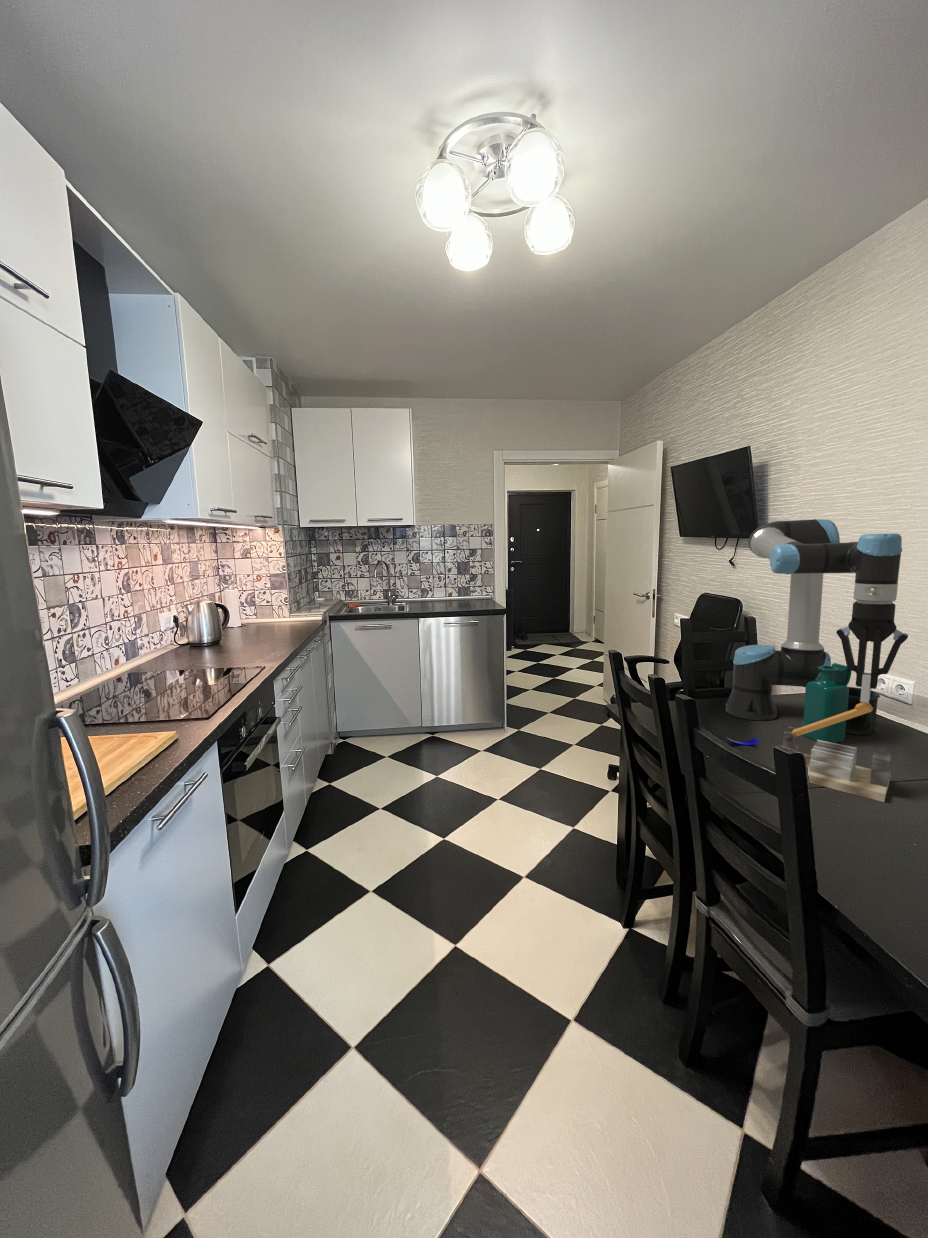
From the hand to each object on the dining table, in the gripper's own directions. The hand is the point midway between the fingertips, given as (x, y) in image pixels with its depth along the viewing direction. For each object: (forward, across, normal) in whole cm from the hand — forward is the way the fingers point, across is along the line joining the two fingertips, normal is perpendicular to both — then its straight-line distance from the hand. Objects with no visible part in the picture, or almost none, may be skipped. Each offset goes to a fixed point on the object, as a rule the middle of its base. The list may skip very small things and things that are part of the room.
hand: (864, 700), depth 115 cm
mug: (+21, -6, +43) cm, 48 cm away
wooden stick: (+7, -6, 0) cm, 9 cm away
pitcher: (+21, -11, +28) cm, 37 cm away
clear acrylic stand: (+21, -5, 0) cm, 22 cm away
